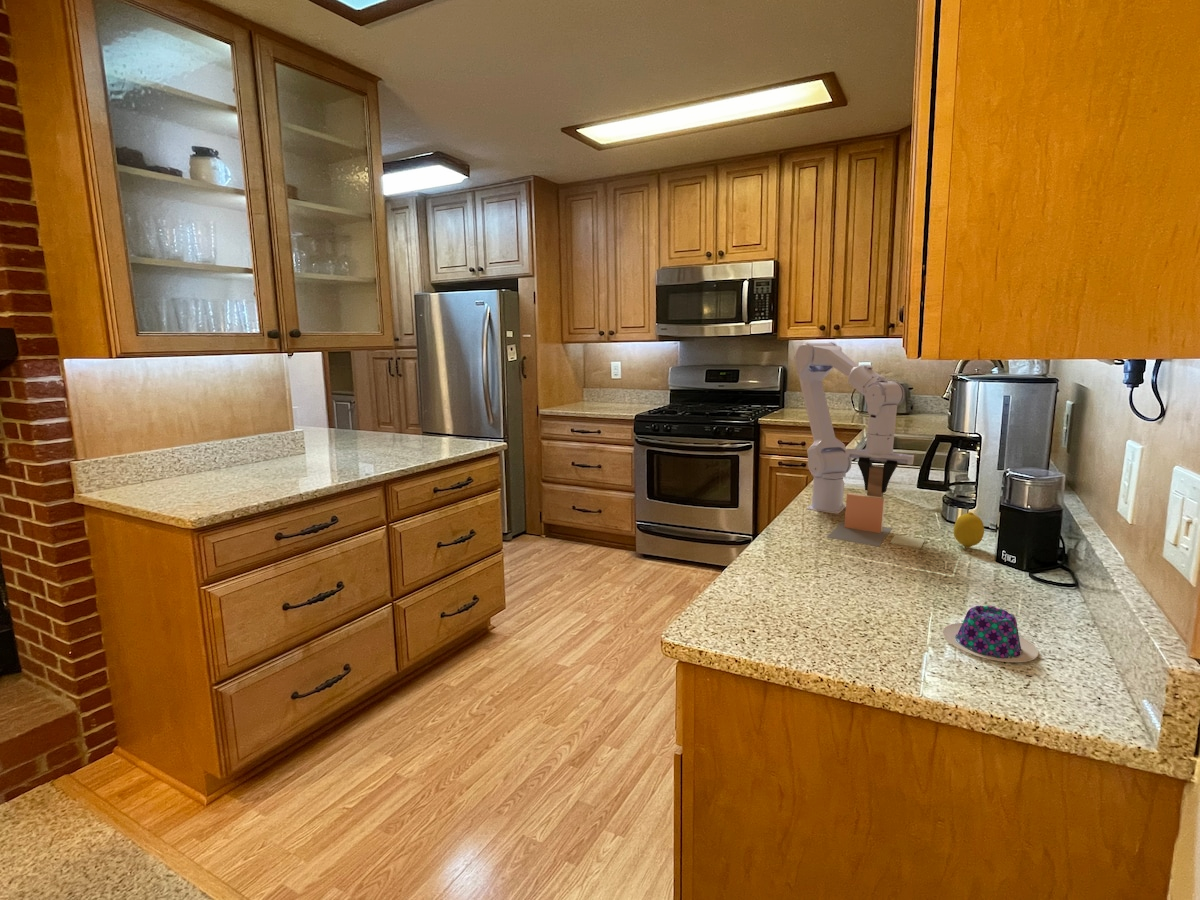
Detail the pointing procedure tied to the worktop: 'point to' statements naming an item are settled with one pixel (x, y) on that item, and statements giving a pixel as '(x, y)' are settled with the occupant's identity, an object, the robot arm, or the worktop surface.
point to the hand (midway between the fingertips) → (875, 490)
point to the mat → (859, 535)
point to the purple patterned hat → (990, 635)
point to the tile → (864, 512)
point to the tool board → (907, 541)
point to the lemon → (968, 530)
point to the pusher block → (875, 481)
